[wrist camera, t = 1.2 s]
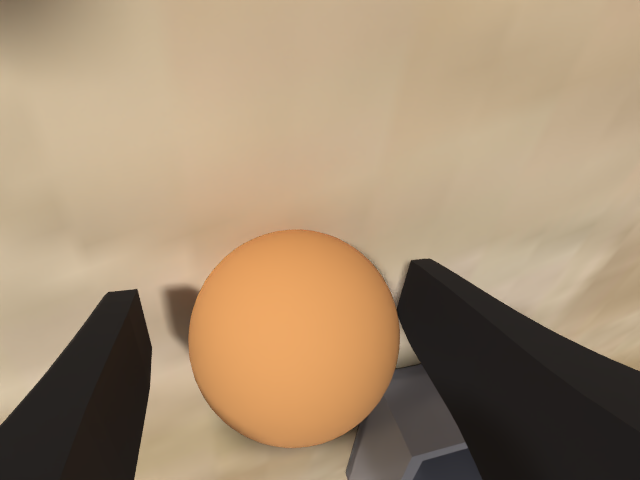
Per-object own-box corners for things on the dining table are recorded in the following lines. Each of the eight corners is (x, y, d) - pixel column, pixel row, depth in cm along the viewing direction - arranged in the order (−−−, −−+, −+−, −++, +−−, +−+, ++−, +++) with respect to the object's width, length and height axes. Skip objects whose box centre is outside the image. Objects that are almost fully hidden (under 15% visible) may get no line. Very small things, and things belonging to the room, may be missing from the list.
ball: (368, 190, 10) (477, 319, 6) (344, 315, 13) (409, 460, 9) (179, 197, 9) (165, 371, 5) (198, 336, 12) (199, 518, 8)
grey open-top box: (540, 340, 18) (602, 404, 15) (478, 436, 23) (516, 496, 20) (373, 373, 16) (411, 456, 13) (345, 472, 21) (368, 547, 18)
